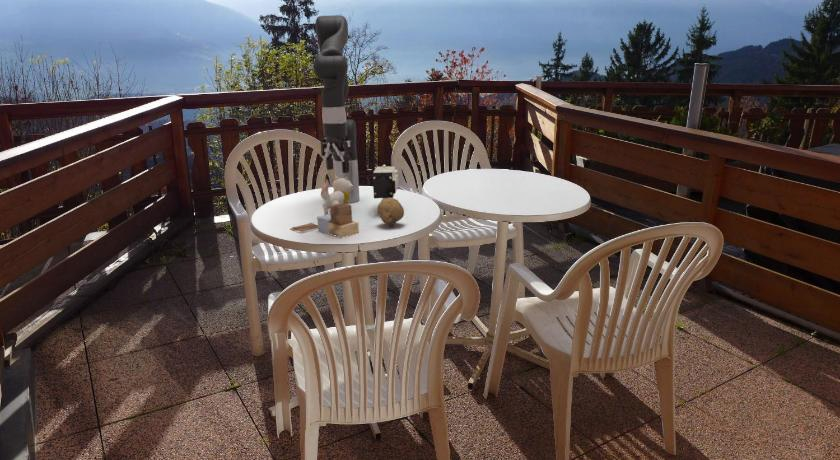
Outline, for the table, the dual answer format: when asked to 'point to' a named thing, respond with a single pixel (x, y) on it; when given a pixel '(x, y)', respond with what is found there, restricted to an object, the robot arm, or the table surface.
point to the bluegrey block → (324, 223)
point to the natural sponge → (390, 211)
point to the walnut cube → (341, 214)
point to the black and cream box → (385, 182)
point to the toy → (336, 193)
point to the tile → (305, 228)
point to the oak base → (344, 229)
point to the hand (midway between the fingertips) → (337, 171)
